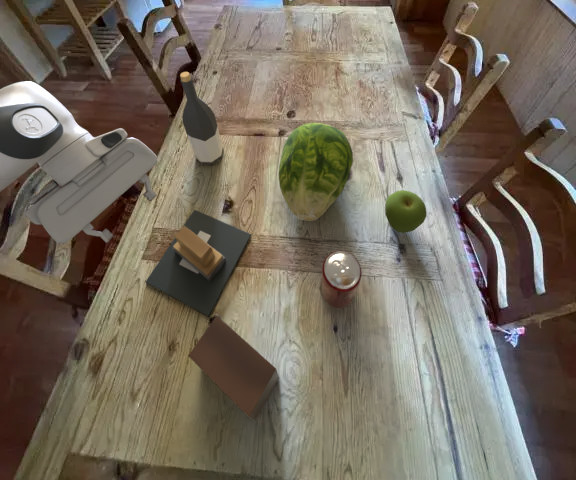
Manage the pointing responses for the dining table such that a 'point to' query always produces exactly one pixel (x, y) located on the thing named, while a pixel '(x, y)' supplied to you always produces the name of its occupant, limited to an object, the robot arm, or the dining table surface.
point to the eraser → (198, 253)
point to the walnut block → (235, 367)
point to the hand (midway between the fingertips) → (132, 218)
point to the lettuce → (314, 169)
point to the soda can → (340, 278)
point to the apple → (405, 211)
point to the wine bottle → (200, 125)
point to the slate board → (188, 281)
